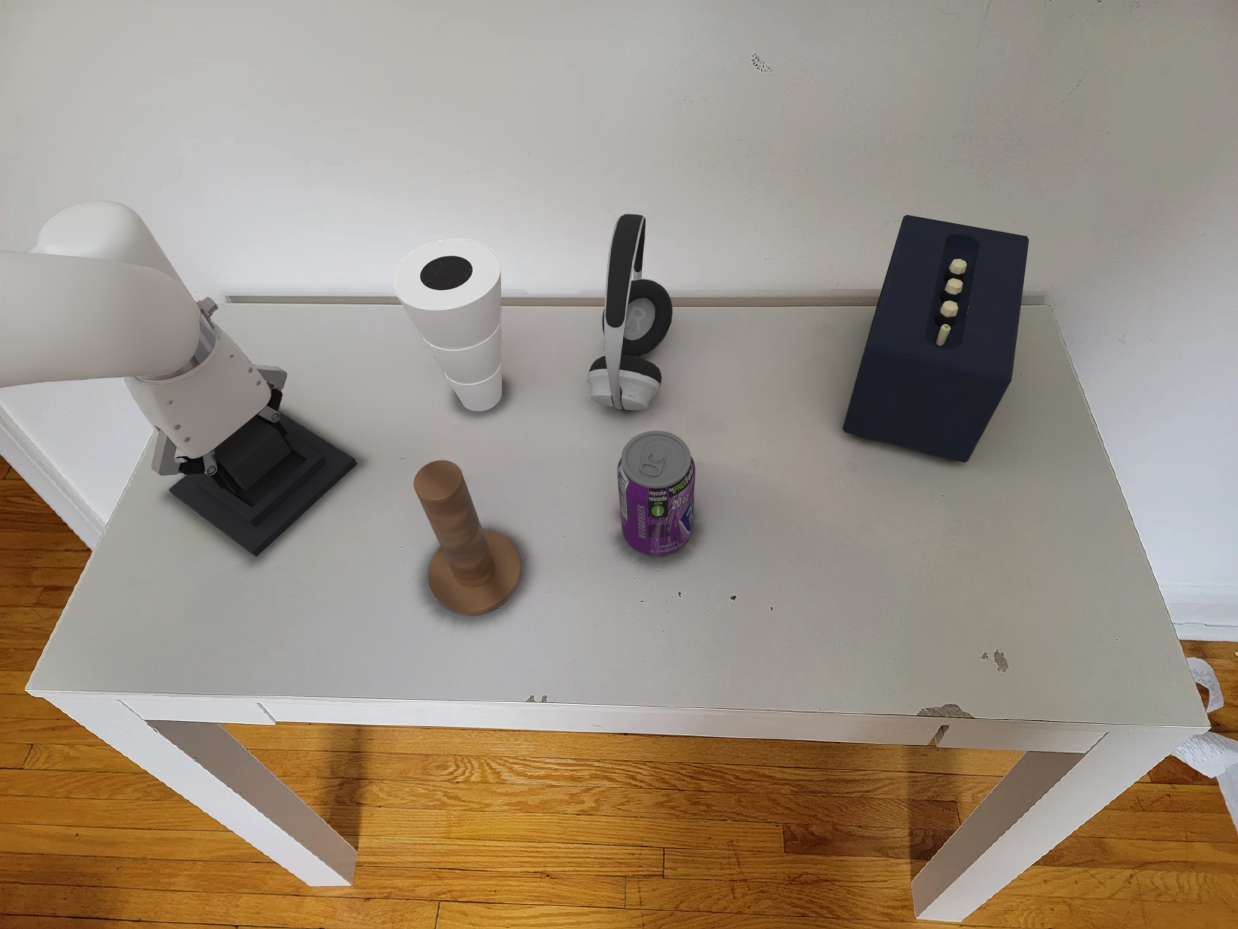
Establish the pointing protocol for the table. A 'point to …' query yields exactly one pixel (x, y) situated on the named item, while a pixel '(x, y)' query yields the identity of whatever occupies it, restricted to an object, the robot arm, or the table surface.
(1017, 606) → the table surface
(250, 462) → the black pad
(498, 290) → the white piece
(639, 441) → the beverage can
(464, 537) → the stand
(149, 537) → the table surface
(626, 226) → the headphones
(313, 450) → the base pad
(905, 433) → the speaker
